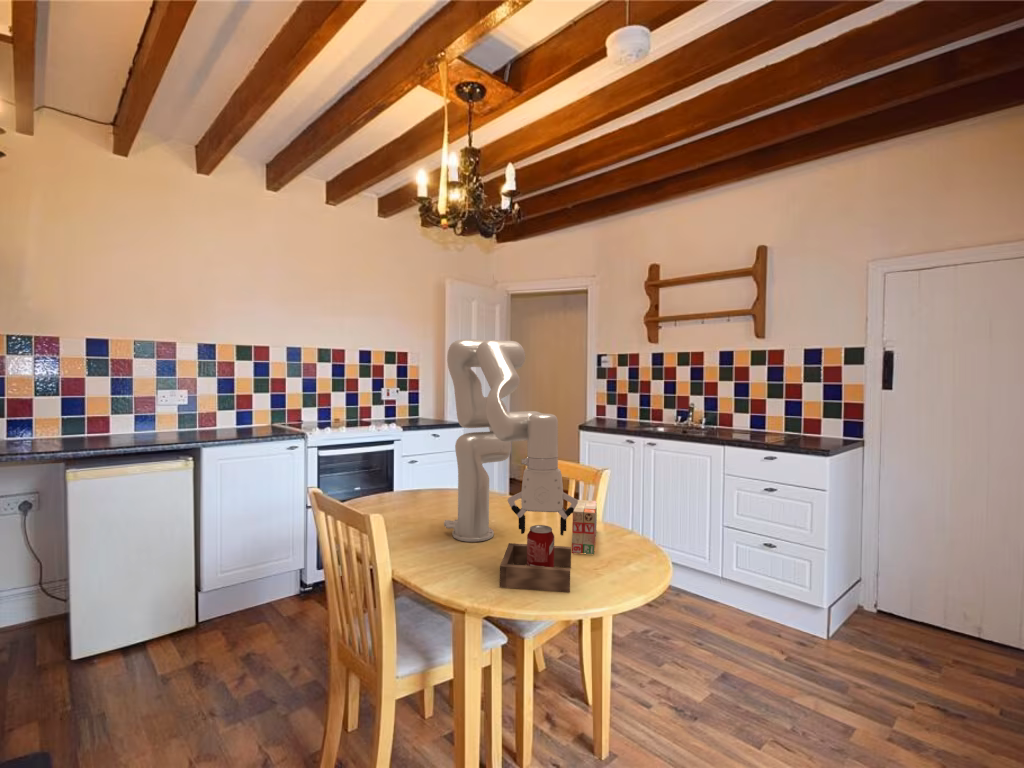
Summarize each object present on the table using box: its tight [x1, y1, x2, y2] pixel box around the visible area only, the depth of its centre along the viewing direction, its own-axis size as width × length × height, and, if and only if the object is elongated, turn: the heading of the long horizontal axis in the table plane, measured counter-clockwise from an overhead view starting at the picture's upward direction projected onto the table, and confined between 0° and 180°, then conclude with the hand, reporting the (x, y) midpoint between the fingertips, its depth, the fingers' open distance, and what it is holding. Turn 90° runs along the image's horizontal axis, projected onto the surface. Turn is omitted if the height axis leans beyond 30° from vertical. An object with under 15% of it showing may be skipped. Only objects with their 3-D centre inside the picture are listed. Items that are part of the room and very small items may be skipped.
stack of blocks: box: [571, 499, 598, 555], centre depth 154 cm, size 21×6×12 cm, turn 169°
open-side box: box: [499, 542, 572, 593], centre depth 128 cm, size 16×16×5 cm
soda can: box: [526, 524, 555, 567], centre depth 128 cm, size 7×7×12 cm
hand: (542, 533), depth 127 cm, fingers open, 9 cm apart
